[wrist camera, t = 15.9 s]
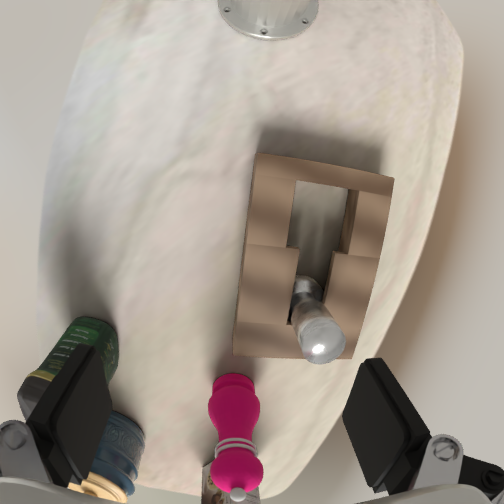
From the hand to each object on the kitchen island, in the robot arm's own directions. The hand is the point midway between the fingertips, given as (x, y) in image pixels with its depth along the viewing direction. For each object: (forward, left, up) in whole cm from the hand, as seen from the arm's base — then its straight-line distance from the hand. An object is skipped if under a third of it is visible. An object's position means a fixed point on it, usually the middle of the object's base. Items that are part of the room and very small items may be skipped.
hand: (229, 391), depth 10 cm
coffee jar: (+19, -18, -28) cm, 38 cm away
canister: (+39, -18, -28) cm, 51 cm away
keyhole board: (+3, +10, -28) cm, 30 cm away
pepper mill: (+24, +3, -28) cm, 37 cm away
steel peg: (+8, +10, -28) cm, 31 cm away
